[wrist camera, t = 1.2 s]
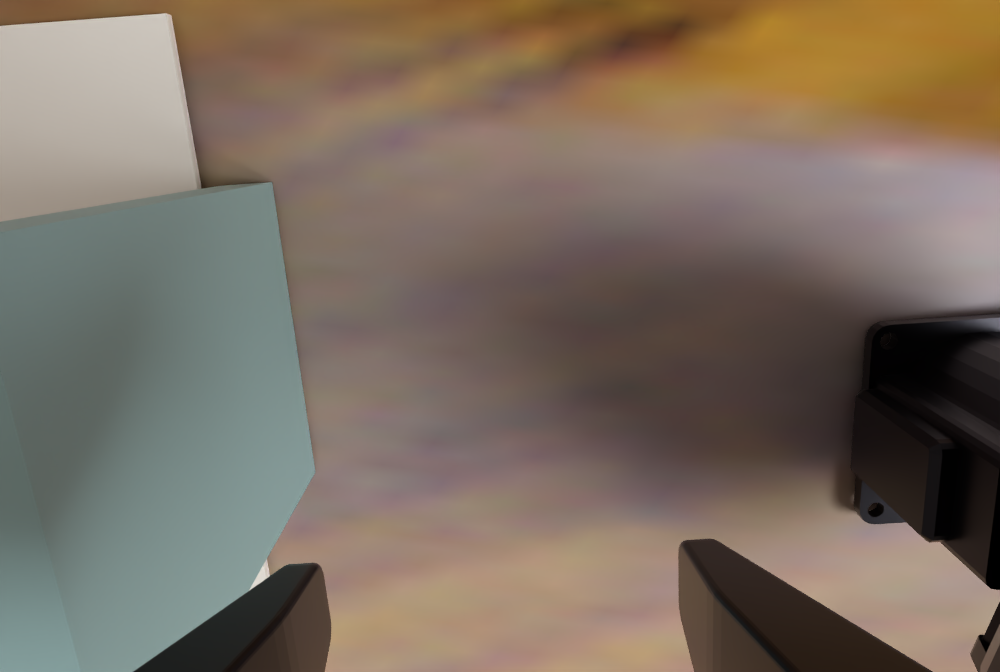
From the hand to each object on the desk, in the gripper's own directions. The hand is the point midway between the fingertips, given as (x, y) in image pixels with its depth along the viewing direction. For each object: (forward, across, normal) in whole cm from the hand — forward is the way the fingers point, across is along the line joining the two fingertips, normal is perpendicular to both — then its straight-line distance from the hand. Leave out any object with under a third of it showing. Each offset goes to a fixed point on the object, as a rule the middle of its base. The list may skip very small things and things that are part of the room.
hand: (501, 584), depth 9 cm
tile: (+13, +7, 0) cm, 15 cm away
